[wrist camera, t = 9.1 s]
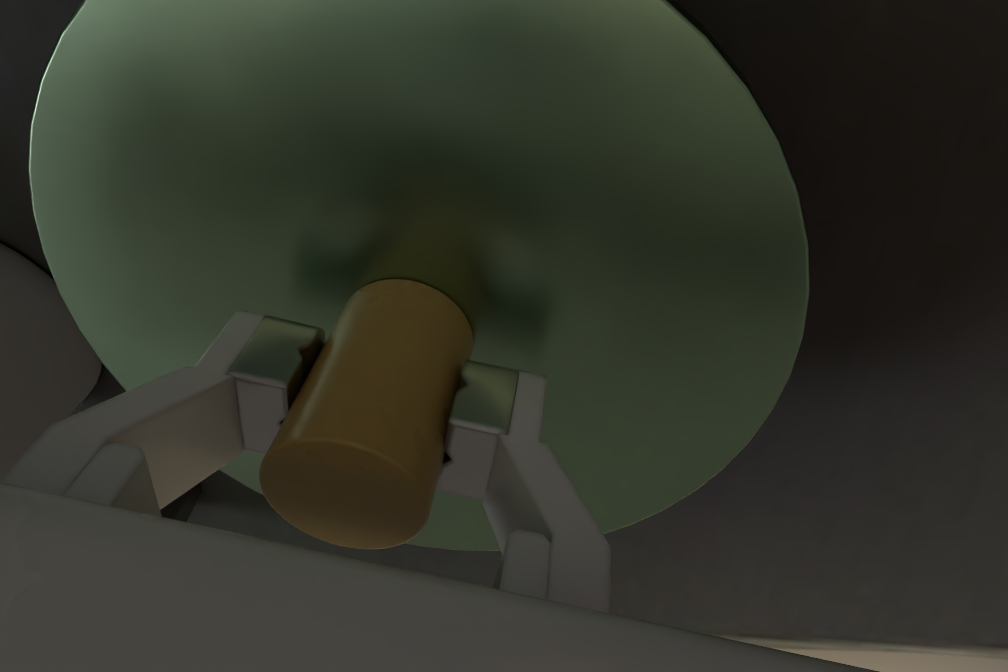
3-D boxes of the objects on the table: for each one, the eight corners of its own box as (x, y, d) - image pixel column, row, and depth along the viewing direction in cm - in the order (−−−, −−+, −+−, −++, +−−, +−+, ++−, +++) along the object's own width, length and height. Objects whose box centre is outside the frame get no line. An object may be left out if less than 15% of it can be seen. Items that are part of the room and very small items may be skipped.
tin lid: (978, -5, 9) (1249, 146, 5) (654, 559, 19) (665, 768, 15) (-47, -229, 9) (-552, -247, 5) (142, 448, 19) (11, 628, 15)
